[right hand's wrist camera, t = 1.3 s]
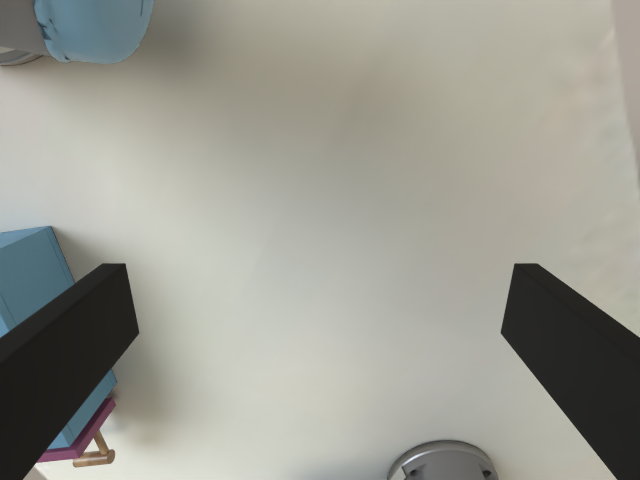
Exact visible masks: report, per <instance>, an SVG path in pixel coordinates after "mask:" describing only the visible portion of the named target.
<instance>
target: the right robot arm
mask: <svg viewBox="0 0 640 480" xmlns="http://www.w3.org/2000/svg"><path fill="white" fill-rule="evenodd" d="M138 334H139V329H138V324H137V319H136V314H135V309H134V304H133V299H132V294H131V289H130V284H129V279H128V274H127V269H126V264H101V265H100V266H99V267H97V268H96V269H94V270H93V271H92V272H90V273H89V274H87V275H86V276H85V277H83V278H82V279H81V280H79V281H78V282H76V283H75V284H74V285H72V286H71V287H70V288H68V289H67V290H65V291H64V292H63V293H61V294H60V295H59V296H57V297H56V298H54V299H53V300H52V301H50V302H49V303H47V304H46V305H45V306H43V307H42V308H41V309H39V310H38V311H36V312H35V313H34V314H32V315H31V316H30V317H28V318H27V319H25V320H24V321H23V322H21V323H20V324H18V325H17V326H16V327H14V328H13V329H12V330H10V331H9V332H7V333H6V334H5V335H3V336H2V337H1V338H0V480H23V479H24V477H25V476H26V475H27V474H28V472H29V471H30V470H31V469H32V467H33V466H34V465H35V464H36V462H37V461H38V460H39V459H40V457H41V456H42V455H43V454H44V452H45V451H46V450H47V449H48V447H49V446H50V445H51V443H52V442H53V441H54V440H55V438H56V437H57V436H58V435H59V433H60V432H61V431H62V430H63V428H64V427H65V426H66V425H67V423H68V422H69V421H70V420H71V418H72V417H73V416H74V415H75V413H76V412H77V411H78V410H79V408H80V407H81V406H82V405H83V403H84V402H85V401H86V400H87V398H88V397H89V396H90V394H91V393H92V392H93V391H94V389H95V388H96V387H97V386H98V384H99V383H100V382H101V381H102V379H103V378H104V377H105V376H106V374H107V373H108V372H109V371H110V369H111V368H112V367H113V366H114V364H115V363H116V362H117V361H118V359H119V358H120V357H121V356H122V354H123V353H124V352H125V350H126V349H127V348H128V347H129V345H130V344H131V343H132V342H133V340H134V339H135V338H136V337H137V335H138ZM501 334H502V335H503V337H504V338H505V339H506V340H507V342H508V343H509V344H510V345H511V347H512V348H513V349H514V350H515V352H516V353H517V354H518V356H519V357H520V358H521V359H522V361H523V362H524V363H525V364H526V366H527V367H528V368H529V369H530V371H531V372H532V373H533V374H534V376H535V377H536V378H537V379H538V381H539V382H540V383H541V384H542V386H543V387H544V388H545V389H546V391H547V392H548V393H549V394H550V396H551V397H552V398H553V400H554V401H555V402H556V403H557V405H558V406H559V407H560V408H561V410H562V411H563V412H564V413H565V415H566V416H567V417H568V418H569V420H570V421H571V422H572V423H573V425H574V426H575V427H576V428H577V430H578V431H579V432H580V433H581V435H582V436H583V437H584V438H585V440H586V441H587V442H588V443H589V445H590V446H591V447H592V449H593V450H594V451H595V452H596V454H597V455H598V456H599V457H600V459H601V460H602V461H603V462H604V464H605V465H606V466H607V467H608V469H609V470H610V471H611V472H612V474H613V475H614V476H615V477H616V479H617V480H640V338H639V337H638V336H637V335H635V334H634V333H633V332H631V331H630V330H628V329H627V328H626V327H624V326H623V325H622V324H620V323H619V322H617V321H616V320H615V319H613V318H612V317H610V316H609V315H608V314H606V313H605V312H604V311H602V310H601V309H599V308H598V307H597V306H595V305H594V304H593V303H591V302H590V301H588V300H587V299H586V298H584V297H583V296H581V295H580V294H579V293H577V292H576V291H575V290H573V289H572V288H570V287H569V286H568V285H566V284H565V283H564V282H562V281H561V280H559V279H558V278H557V277H555V276H554V275H553V274H551V273H550V272H548V271H547V270H546V269H544V268H543V267H541V266H540V265H539V264H514V269H513V274H512V279H511V284H510V289H509V294H508V299H507V304H506V309H505V314H504V319H503V324H502V329H501ZM387 480H499V479H498V475H497V473H496V471H495V469H494V467H493V464H492V462H491V461H490V459H489V458H488V456H487V455H486V454H485V453H483V452H482V451H481V450H479V449H478V448H476V447H474V446H472V445H469V444H466V443H462V442H456V441H437V442H431V443H427V444H423V445H420V446H418V447H415V448H413V449H411V450H410V451H408V452H406V453H405V454H403V455H402V456H401V457H400V458H399V459H398V460H397V461H396V462H395V463H394V464H393V466H392V467H391V469H390V471H389V474H388V477H387Z"/></svg>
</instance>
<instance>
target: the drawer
mask: <svg viewBox="0 0 640 480" xmlns="http://www.w3.org/2000/svg"><path fill="white" fill-rule="evenodd" d="M115 405H116V404H115V402H114V400H113V398H107V399H104V401H103V402H102V403H101V405H100V406H99V408H98V409H97V410H96V412H95V413H94V414H93V416H92V417H91V418H90V420H89V421H88V423H87V424H86V425H85V427H84V428H83V429H82V431H81V432H80V434H79V435H78V436H77V438H76V439H75V440H74V442H73V443H72V444H71V446H70V447H63V448H54V449H47V450H46V451H45V452H44V454H43V455H42V456H41V457H40V459H39V460H38V461H37V463H39V462H48V461H58V460H67V459H73V466H74V467H84V466H94V465H103V464H111V463H112V462H113V461H114V458H115V451H114V450H113V449H111V450H109V449H108V447H107V445H106V443H105V441H104V439H103V437H102V434H101V432H100V430H99V429H100V427H101V426H102V424H103V423H104V421H105V420H106V418H107V417H108V416H109V414H110V413H111V411H112V410H113V408H114V407H115ZM93 438H94V440H95V442H96V444H97V446H98V448H99V450H100V451H93V452H84V451H85V449H86V448H87V446H88V445H89V444H90V442H91V441H92V439H93ZM83 452H84V453H83Z"/></svg>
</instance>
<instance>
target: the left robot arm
mask: <svg viewBox="0 0 640 480" xmlns="http://www.w3.org/2000/svg"><path fill="white" fill-rule="evenodd" d="M153 5H154V0H0V65H18V64H23V63H27V62H29V61H32V60H34V59H36V58H38V57H40V56H42V55H45V56H50V57H54V58H55V59H56V60H58V61H60V62H64V63H68V62H71V61H82V62H91V63H100V64H113V63H118V62H121V61H123V60H125V59H126V58H128V57H129V56H130V55H132V54H133V53H134V52H135V50H136V49H137V48H138V46H139V44H140V42H141V40H142V38H143V37H144V35H145V33H146V31H147V28H148V25H149V22H150V18H151V14H152V10H153Z"/></svg>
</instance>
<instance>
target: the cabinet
mask: <svg viewBox="0 0 640 480" xmlns="http://www.w3.org/2000/svg"><path fill="white" fill-rule="evenodd" d="M74 284H75V283H74V280H73V278H72V275H71V273H70V271H69V268H68V266H67V264H66V261H65V259H64V257H63V254H62V252H61V250H60V247H59V245H58V243H57V240H56V238H55V235H54V233H53V231H52V228H51V226H46V227H39V228H32V229H25V230H18V231H11V232H4V233H0V338H1V337H2V336H3V335H5V334H6V333H7V332H9V331H10V330H12V329H13V328H14V327H16V326H17V325H18V324H20V323H21V322H23V321H24V320H25V319H27V318H28V317H30V316H31V315H32V314H34V313H35V312H36V311H38V310H39V309H41V308H42V307H43V306H45V305H46V304H47V303H49V302H50V301H52V300H53V299H54V298H56V297H57V296H59V295H60V294H61V293H63V292H64V291H65V290H67V289H68V288H70V287H71V286H72V285H74ZM116 383H117V381H116V379H115V377H114V374H113V372H112V370H111V369H110V371H109V372H108V373H107V374H106V376H105V377H104V378H103V379H102V381H101V382H100V383H99V384H98V386H97V387H96V388H95V389H94V391H93V392H92V393H91V394H90V396H89V397H88V398H87V400H86V401H85V402H84V403H83V405H82V406H81V407H80V408H79V410H78V411H77V412H76V413H75V415H74V416H73V417H72V418H71V420H70V421H69V422H68V423H67V425H66V426H65V427H64V428H63V430H62V431H61V432H60V433H59V435H58V436H57V437H56V438H55V440H54V441H53V442H52V443H51V445H50V446H49V447H48V449H54V448H63V447H70V446H71V444H72V443H73V442H74V440H75V439H76V438H77V436H78V435H79V434H80V432H81V431H82V429H83V428H84V427H85V425H86V424H87V423H88V421H89V420H90V418H91V417H92V416H93V414H94V413H95V412H96V410H97V409H98V408H99V406H100V405H101V403H102V402H103V401H104V399H105V398H106V397H107V395H108V394H109V392H110V391H111V390H112V388H113V387H114V386H115V384H116Z"/></svg>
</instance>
